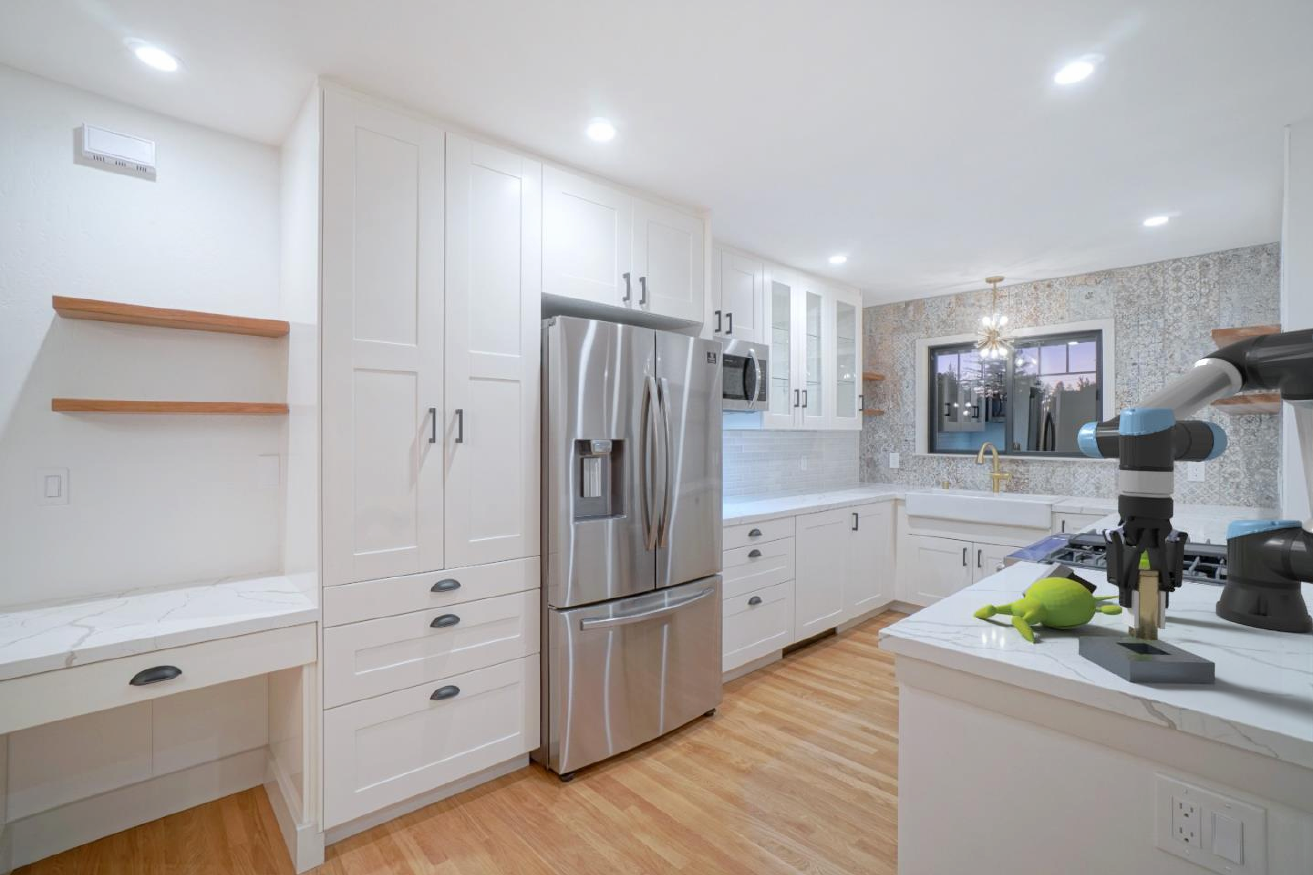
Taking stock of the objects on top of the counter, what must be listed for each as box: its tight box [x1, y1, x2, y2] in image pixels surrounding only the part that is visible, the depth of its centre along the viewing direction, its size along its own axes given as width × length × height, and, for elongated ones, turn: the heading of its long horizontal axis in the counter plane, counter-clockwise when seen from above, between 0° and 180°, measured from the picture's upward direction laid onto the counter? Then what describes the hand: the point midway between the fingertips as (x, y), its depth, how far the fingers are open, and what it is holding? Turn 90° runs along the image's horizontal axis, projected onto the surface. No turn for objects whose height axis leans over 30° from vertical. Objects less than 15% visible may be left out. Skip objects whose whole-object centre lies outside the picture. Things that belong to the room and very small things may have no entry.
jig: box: [1078, 635, 1216, 685], centre depth 102 cm, size 14×12×4 cm
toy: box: [972, 577, 1122, 644], centre depth 125 cm, size 20×10×30 cm
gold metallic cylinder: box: [1128, 567, 1159, 640], centre depth 102 cm, size 4×4×12 cm
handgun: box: [1021, 561, 1098, 598], centre depth 145 cm, size 4×15×12 cm
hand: (1143, 625), depth 102 cm, fingers closed on gold metallic cylinder, 4 cm apart
